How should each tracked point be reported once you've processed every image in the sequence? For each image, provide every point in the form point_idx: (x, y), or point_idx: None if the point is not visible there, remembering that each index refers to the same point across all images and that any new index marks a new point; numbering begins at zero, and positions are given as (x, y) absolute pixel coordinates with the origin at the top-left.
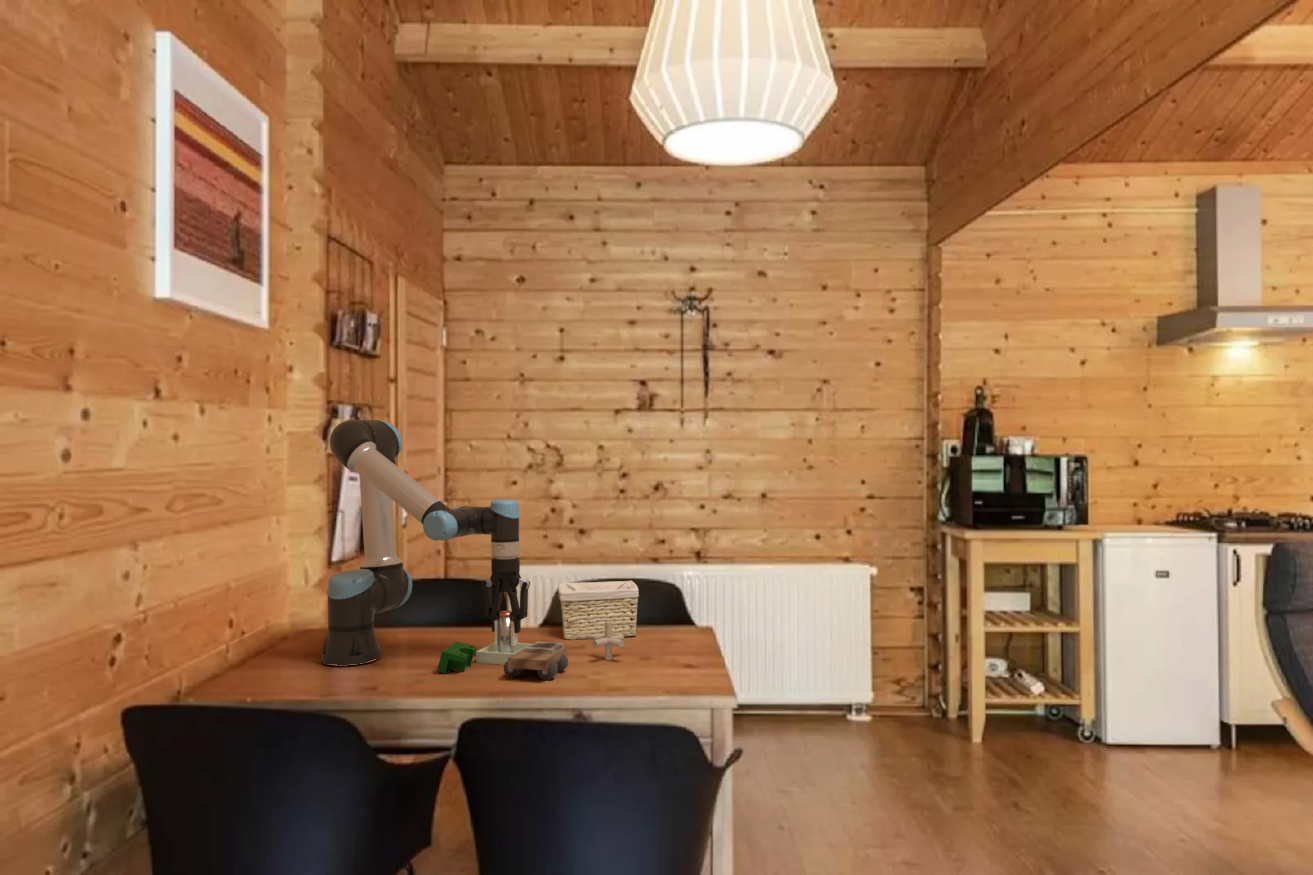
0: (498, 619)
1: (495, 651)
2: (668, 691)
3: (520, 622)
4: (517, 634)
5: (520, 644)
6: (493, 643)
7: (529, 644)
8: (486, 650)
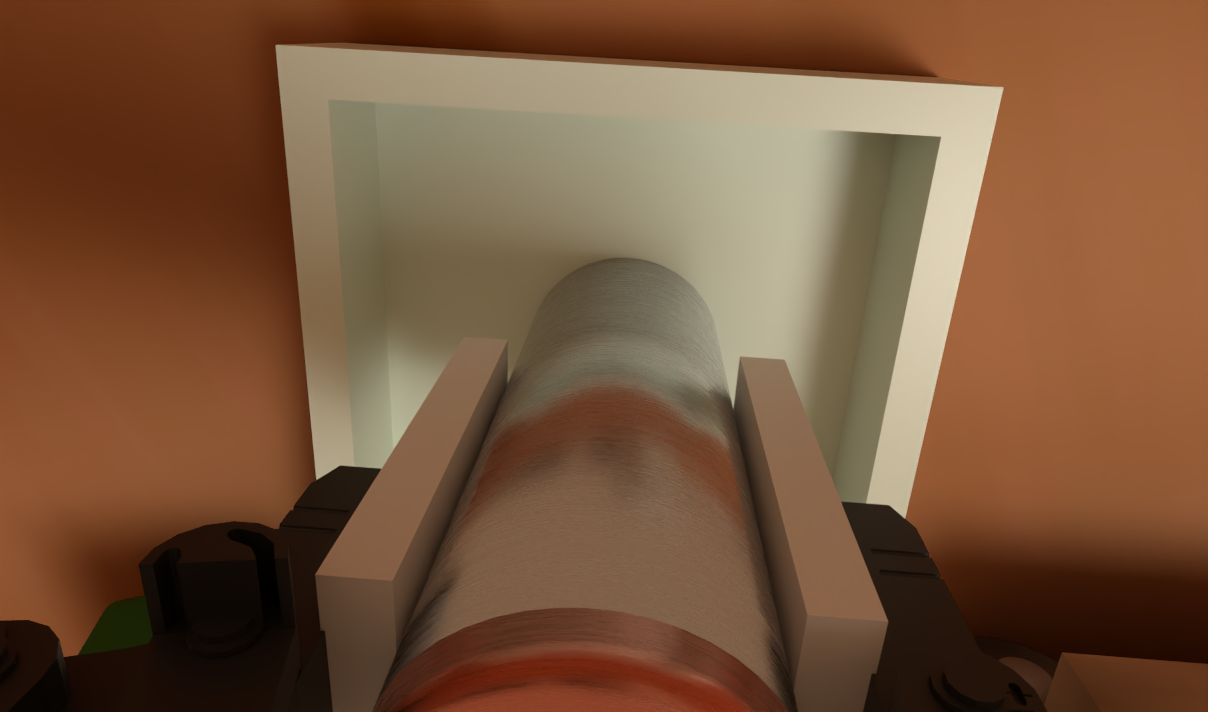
0: (352, 659)
1: (373, 149)
2: None
3: (974, 646)
4: (810, 438)
5: (750, 124)
6: (303, 174)
7: (916, 134)
8: (365, 432)
